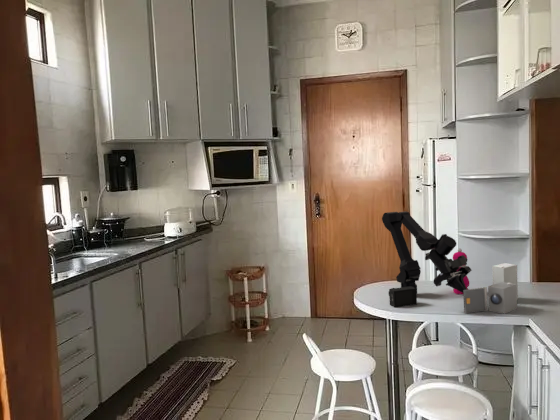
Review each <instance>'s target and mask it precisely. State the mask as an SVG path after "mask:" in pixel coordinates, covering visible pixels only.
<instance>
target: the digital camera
mask: <svg viewBox="0 0 560 420" xmlns="http://www.w3.org/2000/svg"><path fill="white" fill-rule="evenodd" d="M388 290H389V291H388V297H389V306H391V307H392V308H402V307H408V306H415V305H418V301H417V300H418V299H417V298H418V297H417V294H418V293H417V294H416V288H414V287H412V286H409V287H401V286H400V287H392V288H389V289H388Z"/></svg>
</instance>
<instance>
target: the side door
mask: <svg viewBox="0 0 560 420" xmlns="http://www.w3.org/2000/svg"><path fill="white" fill-rule="evenodd" d="M462 296H463V312H464V314H468V313H470V314H471V313H476V312H477V313H478V312H484V311H488V287H485V286H484V287H477V288H468V289H467V290H463V294H462Z"/></svg>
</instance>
